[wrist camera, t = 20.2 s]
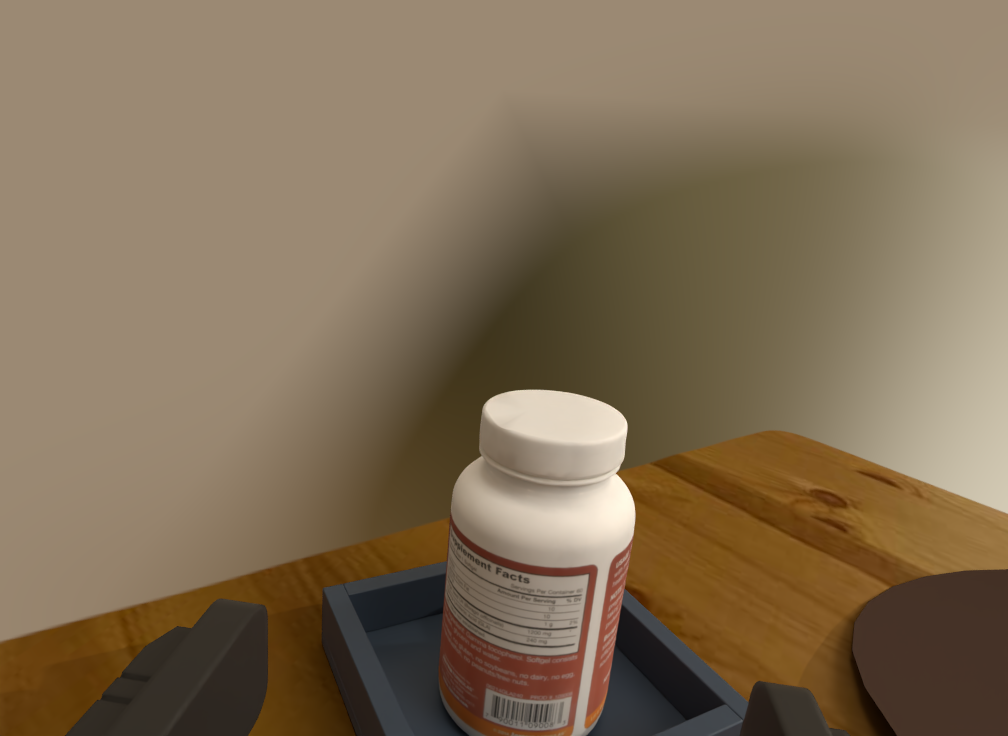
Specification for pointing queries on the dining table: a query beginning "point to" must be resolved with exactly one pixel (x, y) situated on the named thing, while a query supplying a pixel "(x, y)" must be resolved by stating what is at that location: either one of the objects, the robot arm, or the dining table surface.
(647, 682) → the tray
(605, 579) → the pill bottle
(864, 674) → the plate
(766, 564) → the dining table surface
